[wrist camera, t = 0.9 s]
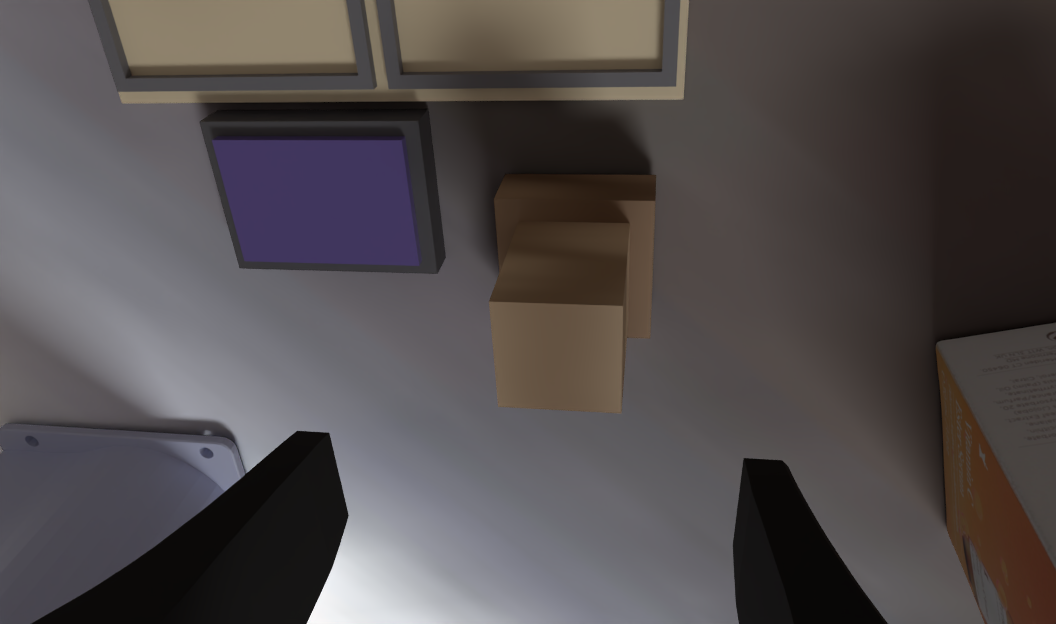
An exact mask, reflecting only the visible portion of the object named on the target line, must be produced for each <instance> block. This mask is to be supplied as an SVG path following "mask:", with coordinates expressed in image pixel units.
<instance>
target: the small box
mask: <svg viewBox="0 0 1056 624" xmlns="http://www.w3.org/2000/svg"><path fill="white" fill-rule="evenodd" d="M936 356H937V368H938V375H939V383H940V396H941V410H942V427H943V453H944V477H945V495H946V515H947V531H948V534H949V537H950V539H951V541H952V544H953V546H954V548H955V551H956V553H957V555H958V558H959V560H960V562H961V565H962V567H963V570H964V572H965V575H966V577H967V579H968V582H969V584H970V587H971V590H972V592H973V595H974V597H975V600H976V602H977V605H978V607H979V610H980V613H981V615H982V618H983V620H984V623H985V624H1056V323H1051V324H1044V325H1038V326H1031V327H1025V328H1019V329H1013V330H1006V331H1000V332H994V333H987V334H981V335H975V336H969V337H963V338H956V339H950V340H942V341H939V342H937V344H936Z"/></svg>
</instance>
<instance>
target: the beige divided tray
mask: <svg viewBox="0 0 1056 624" xmlns="http://www.w3.org/2000/svg"><path fill="white" fill-rule="evenodd" d="M88 2H89V5H90V8H91V11H92V14H93V17H94V20H95V23H96V26H97V30H98V33H99V36H100V39H101V42H102V45H103V48H104V51H105V54H106V57H107V60H108V64H109V67H110V70H111V73H112V76H113V79H114V82H115V85H116V88H117V91H118V92H119V95H120V98H121V101H122V103H246V102H391V101H536V100H681V99H684V81H685V62H686V44H687V25H688V7H689V0H88Z"/></svg>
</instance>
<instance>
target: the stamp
mask: <svg viewBox="0 0 1056 624" xmlns="http://www.w3.org/2000/svg"><path fill="white" fill-rule="evenodd" d="M655 195H656V175H588V174H505V176H504V178H503V180H502V182H501V185H500V187H499V189H498V191H497V193H496V195H495V198H494V207H495V220H496V233H497V246H498V258H499V271H500V273H499V276H498V279H497V282H496V284H495V287H494V290H493V292H492V295H491V298H490V300H489V307H490V318H491V329H492V341H493V352H494V363H495V375H496V386H497V397H498V407H512V408H531V409H549V410H568V411H587V412H606V413H621V411H622V397H623V383H624V369H625V355H626V341H627V338H649V339H650V329H651V303H652V277H653V250H654V224H655Z"/></svg>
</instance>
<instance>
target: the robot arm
mask: <svg viewBox="0 0 1056 624" xmlns="http://www.w3.org/2000/svg"><path fill="white" fill-rule="evenodd" d="M0 445H1V447H2V449H3V452H2V453H1V454H0V624H307V621H308V619H309V617H310V615H311V613H312V611H313V609H314V606H315V604H316V602H317V600H318V598H319V596H320V593H321V591H322V589H323V587H324V585H325V583H326V580H327V578H328V576H329V574H330V571H331V569H332V567H333V564H334V561H335V558H336V555H337V552H338V549H339V546H340V542H341V539H342V536H343V532H344V529H345V526H346V522H347V519H348V516H349V515H348V511H347V507H346V502H345V498H344V494H343V490H342V485H341V481H340V477H339V473H338V468H337V464H336V460H335V456H334V451H333V447H332V443H331V438H330V434H329V433H323V432H307V431H297V432H295V433H294V434H293V435H292V436H290V437H289V438H288V439H287V440H285V441H284V442H283V443H282V444H281V445H279V446H278V447H277V448H276V449H275V450H273V451H272V452H271V453H270V454H269V455H268V456H266V457H265V458H264V459H263V460H262V461H261V462H259V463H258V464H257V465H256V466H255V467H254V468H252V469H251V470H250V471H249V472H248V473H247V474H245V472H244V469H243V465H242V462H241V459H240V456H239V453H238V450H237V447H236V446H235V444H234V443H233V442H232V441H231V440H229V439H228V438H225V437H218V436H202V435H187V434H171V433H155V432H139V431H123V430H107V429H92V428H76V427H60V426H44V425H28V424H12V423H8V424H4V425H3V426H2V427H1V428H0ZM208 448H209V449H210V450H209V449H208ZM733 558H734V579H735V595H736V607H737V613H738V620H739V624H888V623H887V622H886V621H885V619H884V618H883V617H882V615H881V614H880V613H879V611H878V610H877V609H876V607H875V606H874V605H873V603H872V602H871V601H870V599H869V598H868V597H867V595H866V594H865V593H864V591H863V590H862V588H861V587H860V586H859V584H858V583H857V581H856V580H855V578H854V577H853V576H852V574H851V573H850V571H849V570H848V568H847V567H846V565H845V564H844V562H843V561H842V559H841V558H840V556H839V555H838V553H837V551H836V550H835V548H834V547H833V545H832V544H831V542H830V541H829V539H828V538H827V536H826V534H825V533H824V531H823V530H822V528H821V526H820V525H819V523H818V521H817V519H816V518H815V516H814V514H813V513H812V511H811V509H810V507H809V506H808V504H807V502H806V500H805V499H804V497H803V495H802V493H801V491H800V489H799V487H798V486H797V484H796V482H795V480H794V478H793V476H792V474H791V472H790V469H789V467H788V466H787V465H786V464H785V463H784V462H783V461H782V460H766V459H749V458H744V460H743V468H742V476H741V484H740V492H739V500H738V508H737V516H736V524H735V532H734V540H733Z"/></svg>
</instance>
